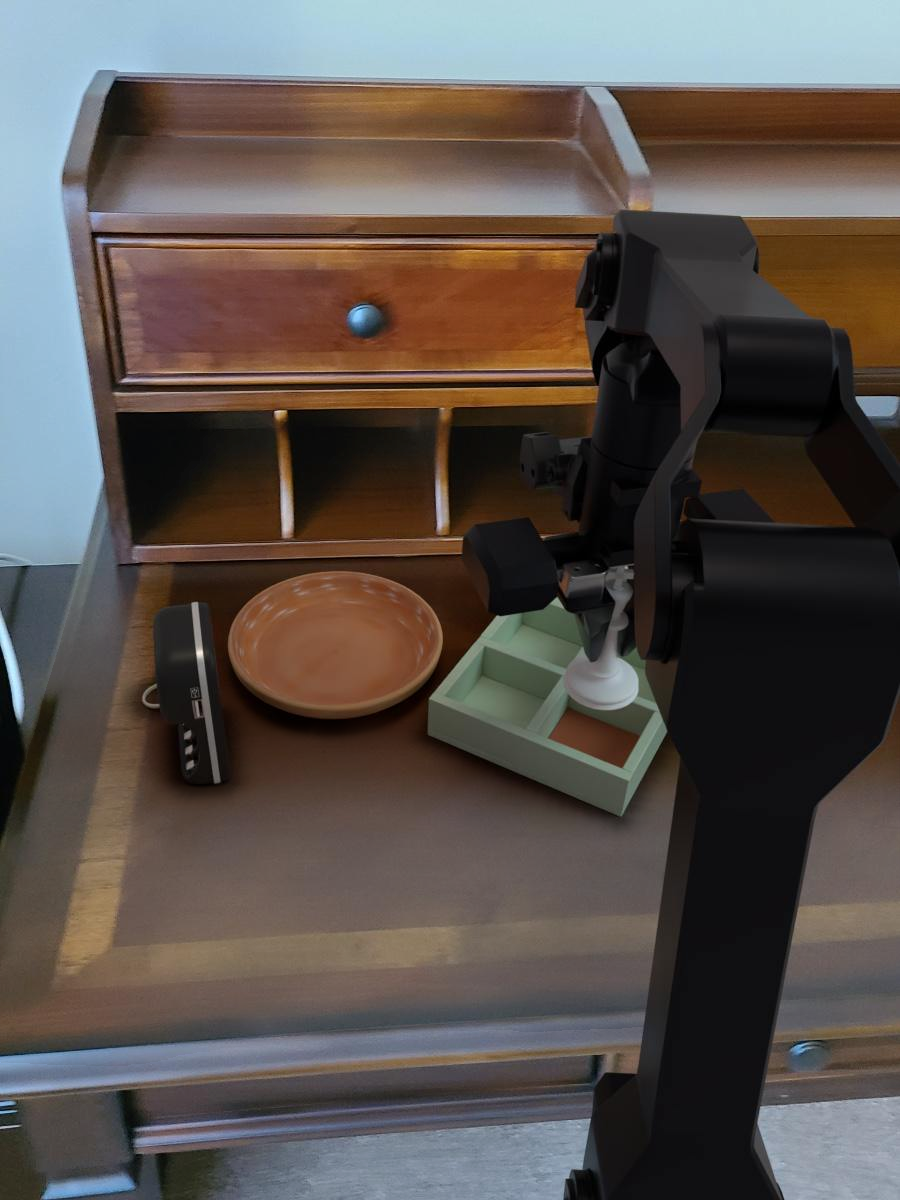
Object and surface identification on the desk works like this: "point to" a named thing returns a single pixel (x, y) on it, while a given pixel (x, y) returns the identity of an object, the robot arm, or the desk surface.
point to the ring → (147, 694)
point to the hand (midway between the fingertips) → (605, 655)
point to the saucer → (335, 644)
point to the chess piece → (606, 658)
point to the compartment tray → (546, 711)
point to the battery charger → (191, 690)
